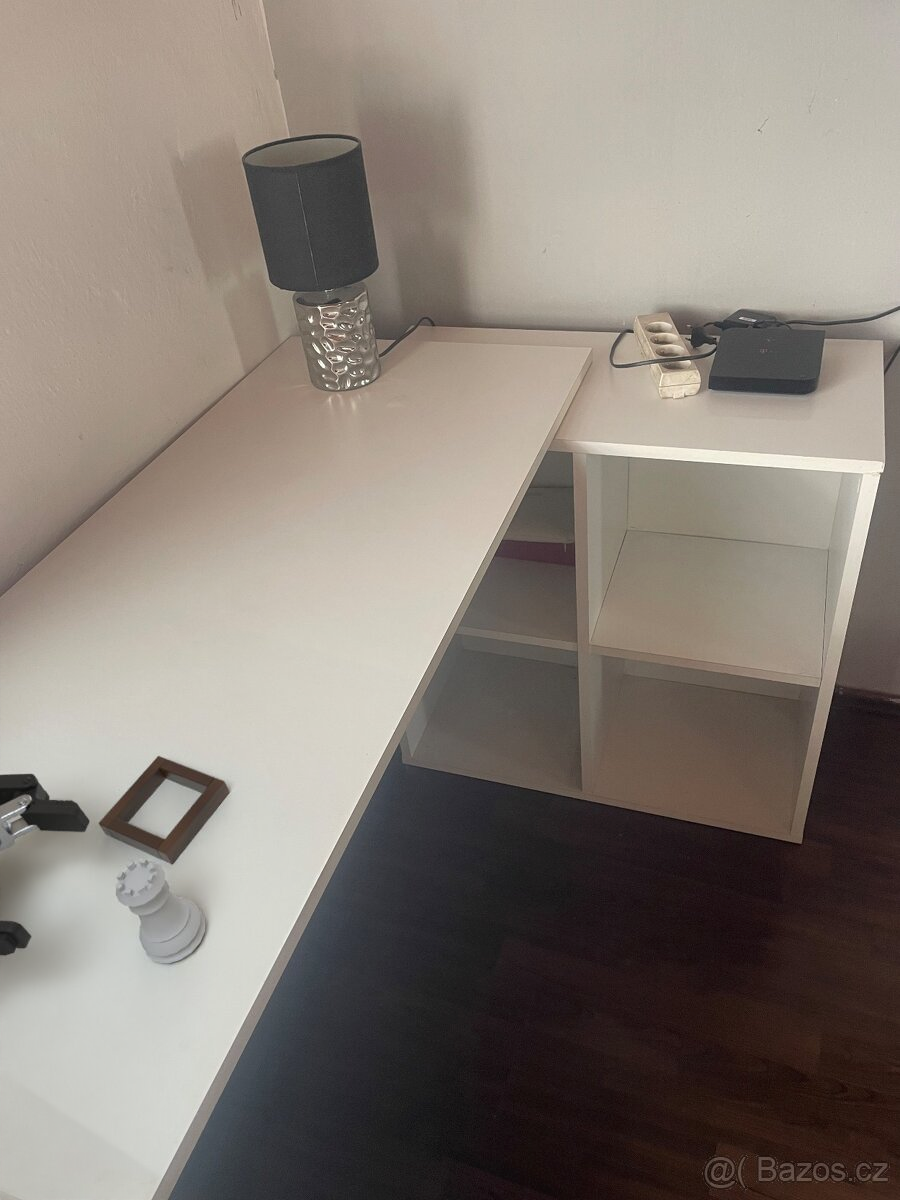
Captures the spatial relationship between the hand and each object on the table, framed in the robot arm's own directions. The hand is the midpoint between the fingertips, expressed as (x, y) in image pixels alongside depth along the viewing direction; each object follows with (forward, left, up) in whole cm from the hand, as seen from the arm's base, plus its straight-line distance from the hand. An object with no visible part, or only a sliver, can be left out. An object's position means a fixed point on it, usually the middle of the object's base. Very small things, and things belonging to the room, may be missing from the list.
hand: (55, 873), depth 57 cm
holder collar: (+10, +2, -8) cm, 13 cm away
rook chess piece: (+2, -6, -8) cm, 10 cm away
